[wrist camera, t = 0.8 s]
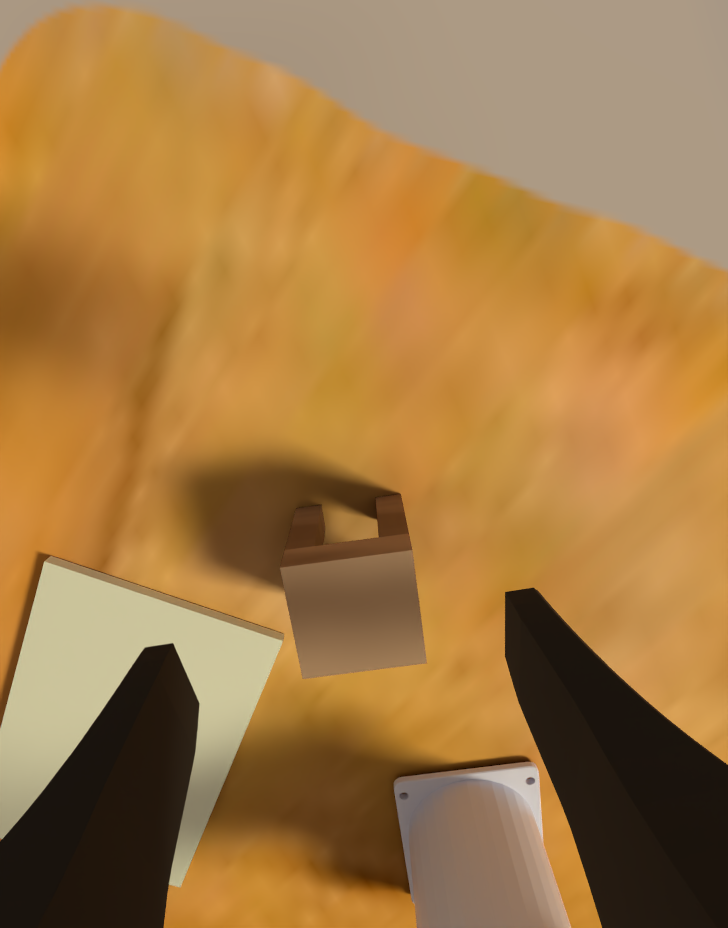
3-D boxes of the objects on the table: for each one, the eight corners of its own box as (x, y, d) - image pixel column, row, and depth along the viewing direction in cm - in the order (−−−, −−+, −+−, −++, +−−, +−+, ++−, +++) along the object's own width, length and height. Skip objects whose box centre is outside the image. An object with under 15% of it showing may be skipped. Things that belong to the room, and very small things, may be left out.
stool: (412, 587, 28) (426, 663, 23) (313, 600, 29) (302, 678, 23) (400, 493, 27) (412, 550, 21) (296, 508, 27) (279, 567, 21)
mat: (183, 877, 34) (180, 887, 34) (-20, 821, 33) (-27, 831, 32) (284, 634, 29) (282, 641, 29) (50, 555, 28) (44, 561, 27)
